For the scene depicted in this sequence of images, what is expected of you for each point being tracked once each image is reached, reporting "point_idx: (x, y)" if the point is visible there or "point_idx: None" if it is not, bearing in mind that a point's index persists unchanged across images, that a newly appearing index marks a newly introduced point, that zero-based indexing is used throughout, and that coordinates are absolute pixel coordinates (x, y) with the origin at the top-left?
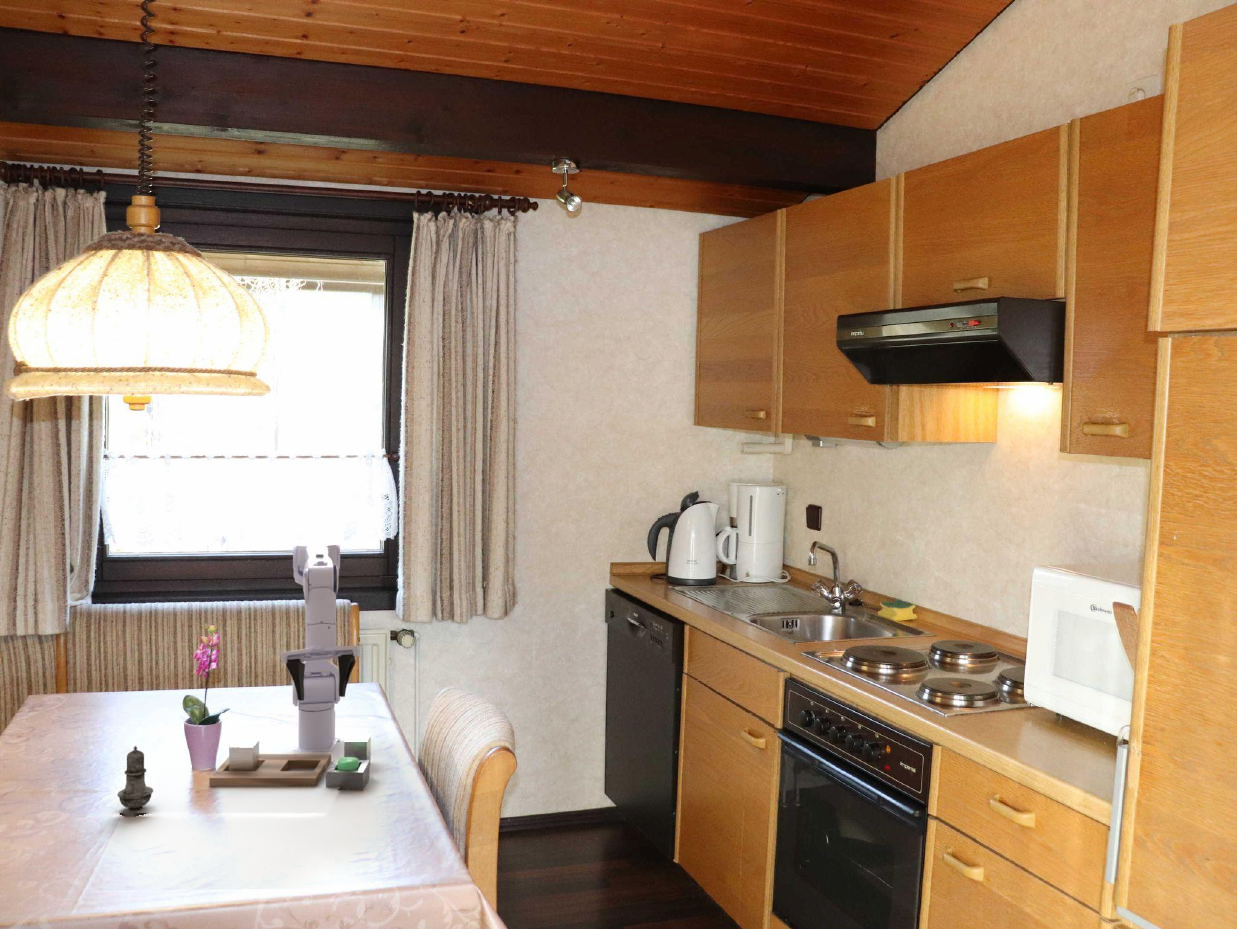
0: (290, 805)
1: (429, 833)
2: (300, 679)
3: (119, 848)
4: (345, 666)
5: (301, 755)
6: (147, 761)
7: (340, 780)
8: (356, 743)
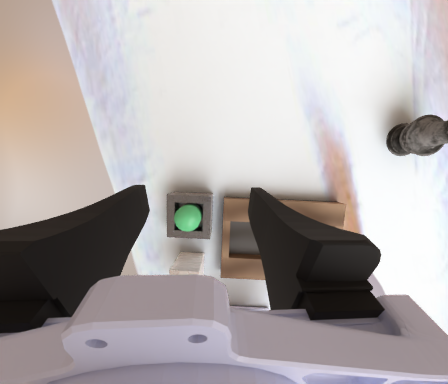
0: (242, 150)
1: (84, 64)
2: (269, 224)
3: (396, 34)
4: (44, 223)
5: (254, 274)
6: (421, 290)
7: (195, 194)
8: (183, 269)
